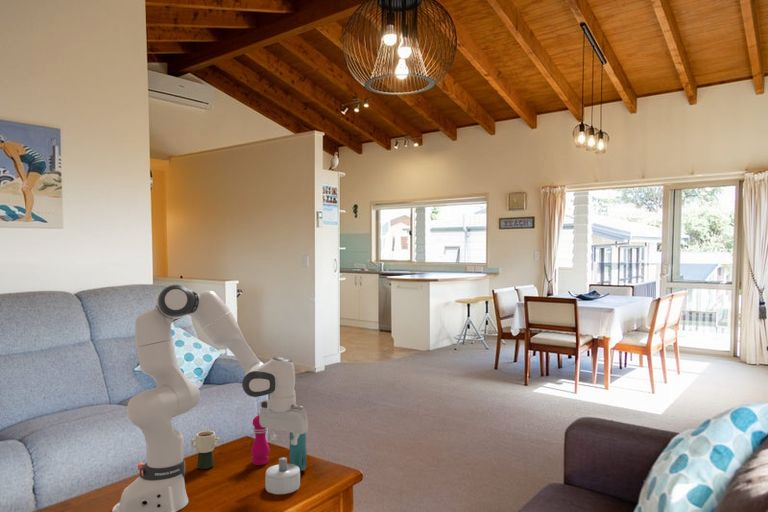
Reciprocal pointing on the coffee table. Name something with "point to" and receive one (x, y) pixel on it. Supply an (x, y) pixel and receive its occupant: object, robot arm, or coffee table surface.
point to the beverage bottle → (298, 451)
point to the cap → (282, 478)
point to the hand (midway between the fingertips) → (283, 442)
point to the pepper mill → (259, 444)
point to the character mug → (205, 448)
